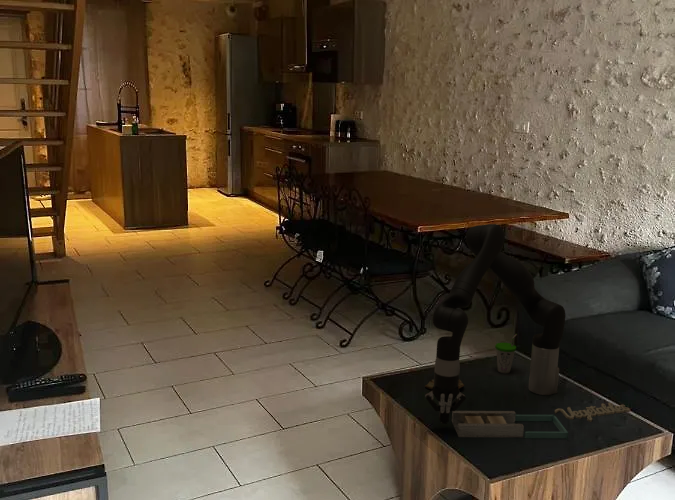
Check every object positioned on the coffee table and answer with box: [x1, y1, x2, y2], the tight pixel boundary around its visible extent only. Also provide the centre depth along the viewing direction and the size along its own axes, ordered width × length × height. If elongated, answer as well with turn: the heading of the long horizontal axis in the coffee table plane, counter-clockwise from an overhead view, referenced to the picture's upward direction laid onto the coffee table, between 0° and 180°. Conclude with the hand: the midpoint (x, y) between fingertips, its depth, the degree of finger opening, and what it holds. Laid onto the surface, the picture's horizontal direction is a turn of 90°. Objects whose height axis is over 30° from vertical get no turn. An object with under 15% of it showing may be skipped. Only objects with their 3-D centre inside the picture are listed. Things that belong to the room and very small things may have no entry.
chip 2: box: [486, 416, 507, 424], centre depth 205 cm, size 5×5×3 cm
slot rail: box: [451, 410, 525, 438], centre depth 205 cm, size 20×11×4 cm, turn 92°
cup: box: [494, 333, 518, 374], centre depth 252 cm, size 8×8×15 cm
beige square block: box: [464, 416, 484, 424], centre depth 205 cm, size 5×5×3 cm
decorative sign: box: [554, 402, 631, 423], centre depth 220 cm, size 26×1×10 cm
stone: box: [424, 379, 465, 390], centre depth 236 cm, size 13×10×3 cm
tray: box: [515, 414, 569, 441], centre depth 206 cm, size 13×12×3 cm
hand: (443, 422), depth 205 cm, fingers closed
